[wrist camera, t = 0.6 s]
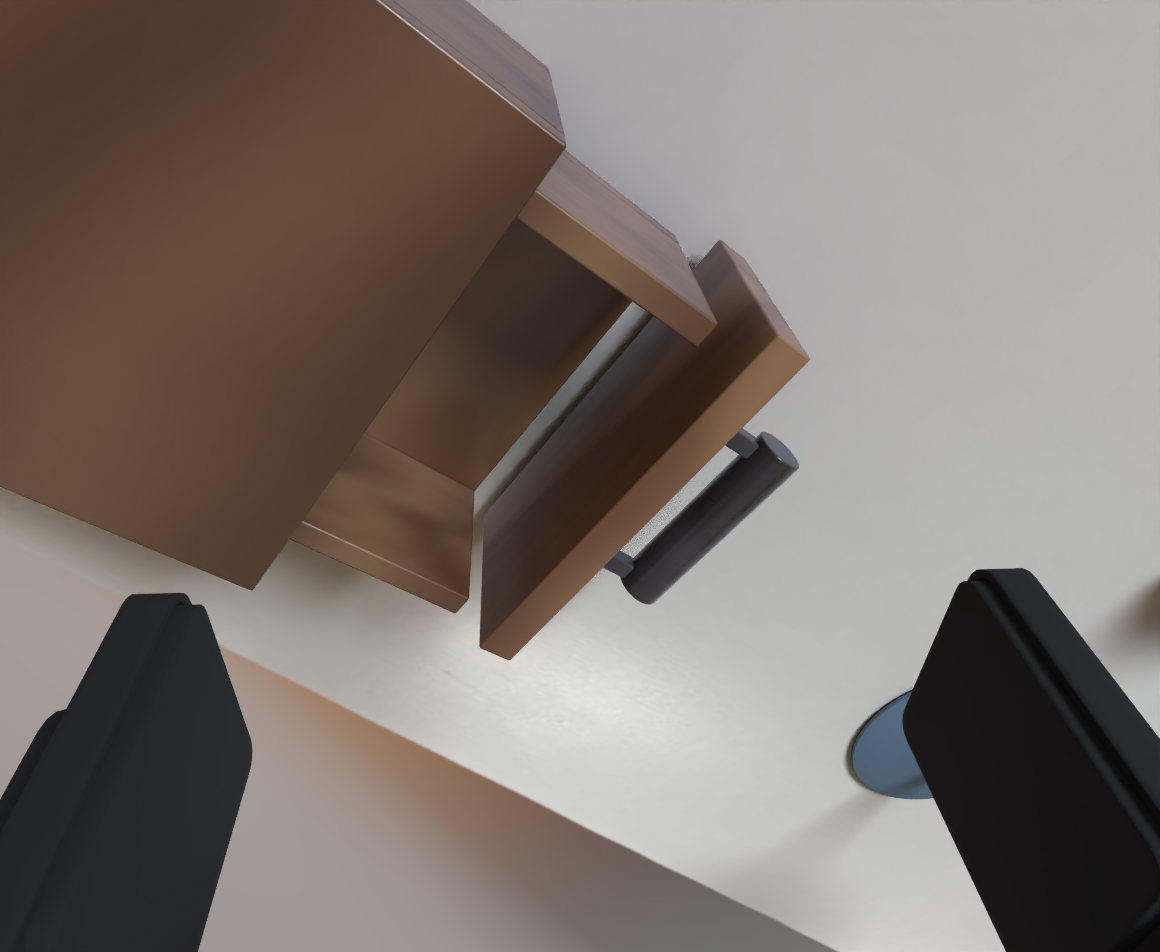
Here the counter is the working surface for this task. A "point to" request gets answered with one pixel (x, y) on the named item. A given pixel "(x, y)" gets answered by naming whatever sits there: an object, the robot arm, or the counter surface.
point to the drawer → (588, 435)
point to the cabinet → (238, 244)
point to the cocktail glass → (888, 756)
